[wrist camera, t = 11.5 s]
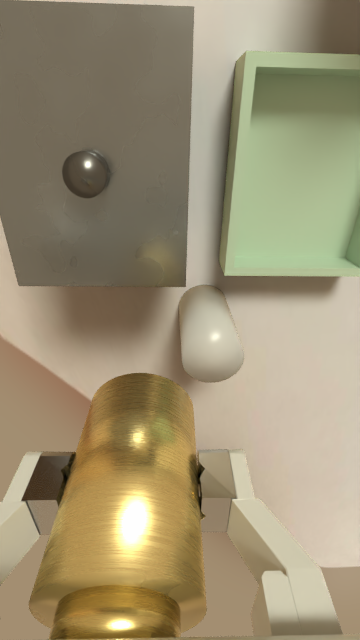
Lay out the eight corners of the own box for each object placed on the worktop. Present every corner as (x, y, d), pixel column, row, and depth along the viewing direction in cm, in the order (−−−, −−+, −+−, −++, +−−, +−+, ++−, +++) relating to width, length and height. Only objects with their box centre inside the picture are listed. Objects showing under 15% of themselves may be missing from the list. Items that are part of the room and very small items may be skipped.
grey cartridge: (224, 327, 27) (240, 382, 21) (178, 327, 27) (181, 382, 21) (229, 285, 25) (248, 332, 19) (179, 284, 25) (182, 332, 19)
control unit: (180, 234, 23) (186, 296, 15) (69, 233, 23) (9, 295, 14) (183, 48, 18) (197, -30, 9) (39, 43, 17) (-87, -42, 9)
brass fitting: (192, 445, 13) (205, 687, 8) (98, 446, 13) (38, 690, 8) (194, 372, 11) (215, 624, 6) (83, 373, 11) (-15, 628, 6)
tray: (346, 262, 25) (366, 276, 22) (218, 261, 24) (224, 275, 22) (406, 66, 18) (441, 56, 16) (236, 61, 18) (246, 50, 16)
